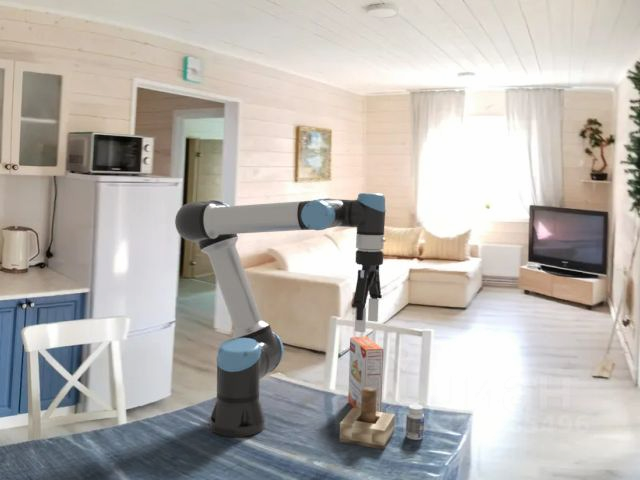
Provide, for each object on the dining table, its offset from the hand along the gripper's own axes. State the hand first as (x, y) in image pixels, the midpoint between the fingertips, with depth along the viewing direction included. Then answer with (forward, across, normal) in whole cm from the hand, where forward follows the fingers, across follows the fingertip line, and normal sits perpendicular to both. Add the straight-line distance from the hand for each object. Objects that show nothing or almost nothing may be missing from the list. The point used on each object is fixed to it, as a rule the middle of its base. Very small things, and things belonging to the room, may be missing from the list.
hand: (366, 326), depth 164 cm
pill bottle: (+29, -1, -15) cm, 32 cm away
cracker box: (+29, +12, +3) cm, 31 cm away
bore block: (+29, -6, -3) cm, 29 cm away
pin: (+28, -6, -3) cm, 28 cm away
